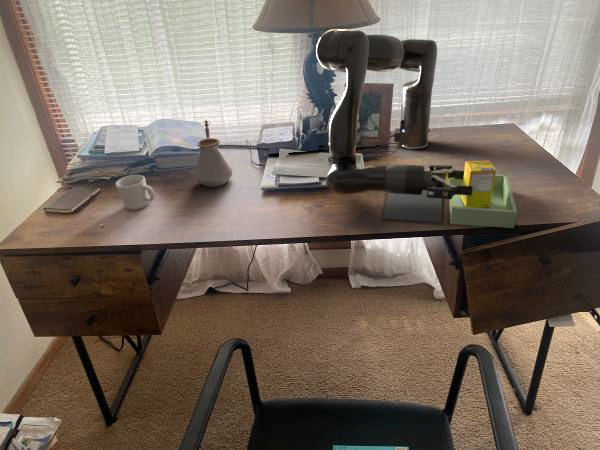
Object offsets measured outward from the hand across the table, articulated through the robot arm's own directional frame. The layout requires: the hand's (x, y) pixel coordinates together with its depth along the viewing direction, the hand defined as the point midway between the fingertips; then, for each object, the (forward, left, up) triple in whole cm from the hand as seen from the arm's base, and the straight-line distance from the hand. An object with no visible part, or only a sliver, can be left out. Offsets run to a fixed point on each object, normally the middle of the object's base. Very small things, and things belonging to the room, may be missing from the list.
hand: (471, 182), depth 108 cm
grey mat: (-13, 0, -6) cm, 15 cm away
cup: (-88, -12, -7) cm, 89 cm away
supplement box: (+2, 0, -6) cm, 7 cm away
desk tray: (+3, 0, -6) cm, 7 cm away
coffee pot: (-75, +10, -7) cm, 76 cm away
